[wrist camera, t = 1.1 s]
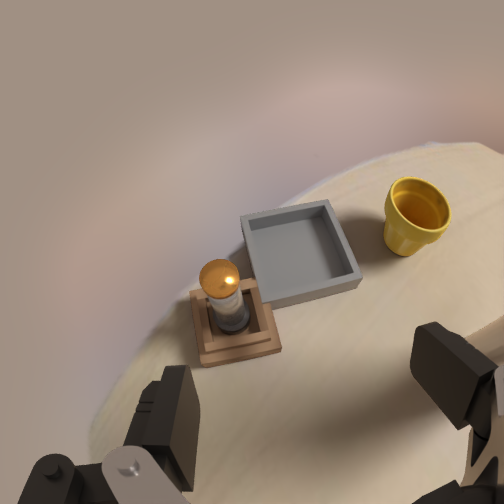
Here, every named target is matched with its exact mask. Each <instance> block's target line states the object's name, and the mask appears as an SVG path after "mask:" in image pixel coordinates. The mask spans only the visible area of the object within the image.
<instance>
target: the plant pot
mask: <svg viewBox="0 0 504 504" xmlns="http://www.w3.org/2000/svg"><path fill="white" fill-rule="evenodd" d="M385 215H386V221H385V227H384V233H383V236H384V240H385V243H386V245H387V246H388V247H389V249H390V250H392V251H393V252H394V253H396V254H398V255H401V256H410V255H413V254H414V253H416V252H417V251H418V250H420V249H421V248H422V247H424V246H425V245H426V244H430V243H433V242H435V241H436V240H438V239H439V238H440V237H441V235H442V234H443V233H444V232H445V230H446V229H447V227H448V226H449V224H450V221H451V209H450V205H449V203H448V201H447V199H446V198H445V196H444V195H443V193H442V192H441V191H440V190H439V189H438V188H437V187H435V186H434V185H433V184H431V183H430V182H428V181H426V180H423V179H420V178H417V177H402V178H400V179H398V180H396V181H395V182H394V183H393V184H392V186H391V188H390V190H389V192H388V195H387V198H386V201H385Z"/></svg>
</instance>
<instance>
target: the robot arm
mask: <svg viewBox="0 0 504 504" xmlns="http://www.w3.org/2000/svg"><path fill="white" fill-rule="evenodd" d="M410 369H411V373H412V375H413V377H414V378H415V379H416V380H417V381H418V383H419V384H420V385H421V386H422V387H423V389H424V390H425V391H426V392H427V393H428V395H429V396H430V397H431V398H432V399H433V401H434V402H435V403H436V404H437V405H438V407H439V408H440V409H441V410H442V412H443V413H444V414H445V415H446V416H447V418H448V419H449V420H450V421H451V423H452V424H453V425H454V426H455V428H456V429H457V430H460V429H462V428H464V427H465V426H467V425H469V424H470V425H471V426H472V428H471V430H470V432H469V440H468V451H467V460H466V468H465V474H464V478H463V480H462V482H461V485H460V486H459V484H458V483H457V481H456V480H453V481H451V482H450V483H448V484H446V485H444V486H442V487H440V488H438V489H436V490H434V491H432V492H430V493H428V494H426V495H424V496H422V497H420V498H419V499H418V500H416V501H415V502H414V503H412V504H504V315H503V316H502V317H500V318H498V319H497V320H495V321H494V322H492V323H490V324H489V325H487V326H485V327H484V328H482V329H480V330H478V331H477V332H475V333H473V334H471V335H470V336H468V337H466V338H463V337H461V336H460V335H458V334H456V333H453V332H450V331H448V330H447V329H445V328H444V327H443V326H442V325H440V324H439V323H438V322H431V323H428V324H424V325H421V326H418V327H417V328H416V330H415V334H414V341H413V347H412V353H411V359H410ZM199 423H200V404H199V399H198V395H197V392H196V388H195V385H194V381H193V377H192V374H191V370H190V367H189V366H188V365H176V366H166V367H165V369H164V372H163V375H162V378H161V381H152V382H151V383H150V384H149V385H148V386H147V387H146V388H145V389H144V390H143V391H142V394H141V397H140V400H139V404H138V405H137V408H136V413H134V416H133V419H132V421H131V424H130V427H129V430H128V433H127V436H126V439H125V441H124V444H123V446H122V447H119V448H116V449H114V450H112V451H111V452H110V453H108V454H107V456H106V457H105V458H104V460H103V462H102V463H98V464H89V465H79V466H75V465H74V464H73V462H72V461H71V460H70V459H69V458H68V457H66V456H64V455H61V454H49V455H46V456H44V457H42V458H41V459H40V460H38V461H37V462H36V464H35V465H34V467H33V469H32V471H31V474H30V476H29V478H28V480H27V482H26V485H25V487H24V489H23V492H22V494H21V496H20V499H19V501H18V504H190V503H189V502H188V501H187V500H186V499H185V497H184V496H183V495H182V491H184V492H193V487H194V475H195V464H196V453H197V443H198V433H199Z"/></svg>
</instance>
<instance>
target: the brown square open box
mask: <svg viewBox="0 0 504 504" xmlns="http://www.w3.org/2000/svg"><path fill="white" fill-rule="evenodd" d="M240 287H241V292H242V297H243V299H244V300H245V301H246V303H247V304H248V306H249V311H250V317H251V320H250V324H249V326H248V328H247V329H246V330H245V331H244V332H242V333H241V334H238V335H227V334H225V333H223V332H222V331H221V330H220V329H219V328H218V326H217V325H216V323H215V321H214V319H213V307H212V305H211V303H210V301H209V299H208V297H207V295H206V293H205V292H204V291H203V289H197V290H193V291H189V293H190V300H191V307H192V313H193V320H194V326H195V332H196V338H197V344H198V350H199V356H200V361H201V365H203V366H204V367H205V368H208V367H214V366H219V365H224V364H229V363H234V362H239V361H244V360H248V359H253V358H257V357H262V356H266V355H270V354H274V353H278V352H281V349H282V346H281V342H280V338H279V334H278V331H277V327H276V323H275V319H274V316H273V312H272V308H271V304H270V303H266V304H262V301H261V297H260V293H259V289H258V285H257V281H256V278H255V277H253V278H248V279H244V280H240Z"/></svg>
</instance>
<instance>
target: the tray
mask: <svg viewBox="0 0 504 504" xmlns="http://www.w3.org/2000/svg"><path fill="white" fill-rule="evenodd" d="M240 219H241V227H242V232H243V236H244V240H245V244H246V248H247V252H248V256H249V260H250V264H251V268H252V272H253V276H254V277H255V278H256V281H257V285H258V289H259V293H260V297H261V301H262V304H266V303H270V304H271V308H272V310H274V309H278V308H282V307H286V306H291V305H295V304H299V303H303V302H307V301H310V300H314V299H318V298H322V297H326V296H330V295H333V294H337V293H341V292H344V291H348V290H351V289H355V288H357V287H358V285H359V283H360V282H361V280H362V279H363V276H362V273H361V271H360V269H359V266H358V264H357V262H356V259H355V257H354V255H353V252H352V250H351V248H350V245H349V243H348V241H347V239H346V236H345V234H344V232H343V230H342V228H341V225H340V223H339V221H338V219H337V217H336V215H335V212H334V210H333V208H332V206H331V204H330V202H329V200H328V199H326V200H321V201H315V202H310V203H304V204H299V205H294V206H289V207H284V208H278V209H273V210H268V211H263V212H258V213H254V214H249V215H244V216H240Z"/></svg>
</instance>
